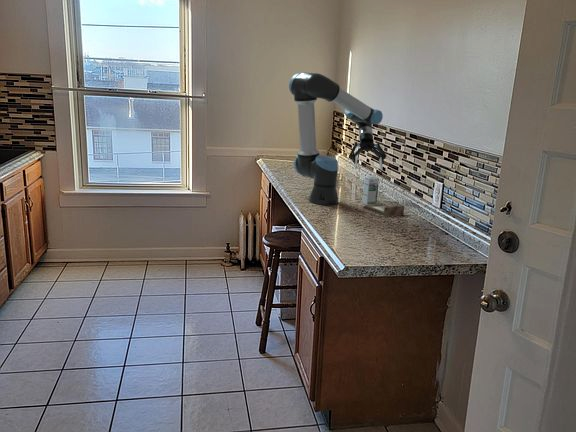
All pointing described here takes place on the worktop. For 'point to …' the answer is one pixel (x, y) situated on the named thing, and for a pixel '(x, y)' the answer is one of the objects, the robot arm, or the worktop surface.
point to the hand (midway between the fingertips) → (368, 168)
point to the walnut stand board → (386, 209)
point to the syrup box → (370, 190)
